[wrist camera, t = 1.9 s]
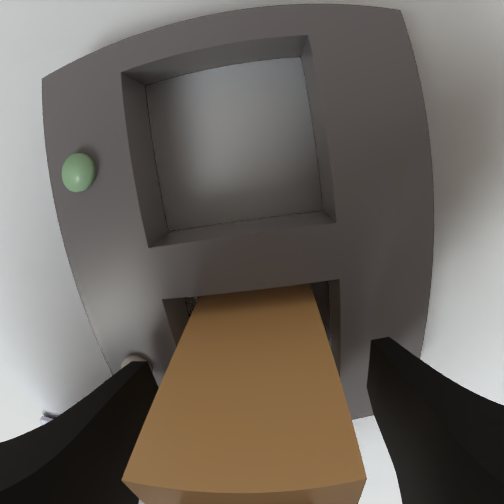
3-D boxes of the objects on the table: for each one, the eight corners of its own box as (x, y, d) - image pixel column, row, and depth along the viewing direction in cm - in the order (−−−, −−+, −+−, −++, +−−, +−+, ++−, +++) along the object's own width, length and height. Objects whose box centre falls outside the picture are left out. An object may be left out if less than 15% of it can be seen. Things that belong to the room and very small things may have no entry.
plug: (313, 363, 12) (346, 561, 4) (221, 372, 12) (185, 564, 4) (308, 279, 11) (376, 519, 2) (201, 291, 11) (108, 513, 3)
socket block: (394, 378, 12) (410, 410, 10) (153, 401, 13) (140, 433, 11) (380, 30, 8) (403, 6, 6) (71, 86, 9) (36, 77, 7)
